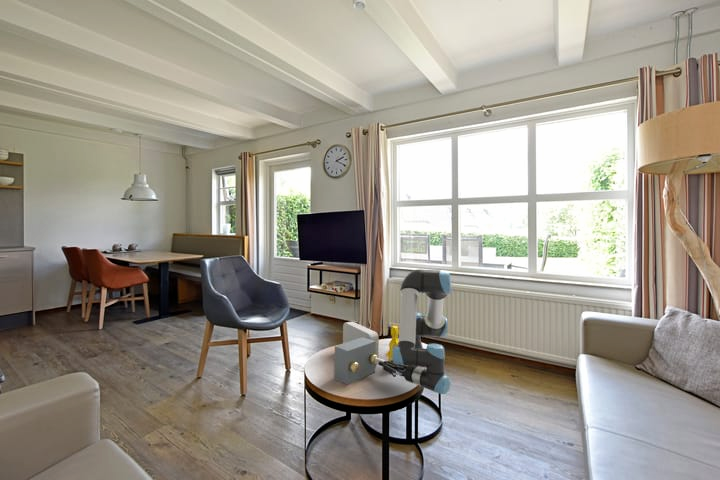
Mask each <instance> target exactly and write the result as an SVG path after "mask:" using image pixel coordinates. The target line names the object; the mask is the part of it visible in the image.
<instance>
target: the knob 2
mask: <svg viewBox="0 0 720 480" xmlns="http://www.w3.org/2000/svg"><path fill="white" fill-rule="evenodd" d="M376 357H377V358H380V357H379V355H378V356H377V355H374V354H371V355H370V356H369V362H370V363H372V364H375V358H376Z"/></svg>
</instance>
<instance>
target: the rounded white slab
mask: <svg viewBox="0 0 720 480" xmlns="http://www.w3.org/2000/svg"><path fill="white" fill-rule="evenodd" d="M362 337H364V338H367V339H370V340H373V341H376V351H375V355H377V356H378V357H379V341H380V340H379V334H378V332H377V331H375V330H372V329H370V328H368V327H366V326H364V325H361V324H359V323H356V322H355V321H348V322H344V323H343V326H342V344H343V343H346V342H349V341H352V340H355V339H358V338H362ZM375 366H378V365H377V364H375Z"/></svg>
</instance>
